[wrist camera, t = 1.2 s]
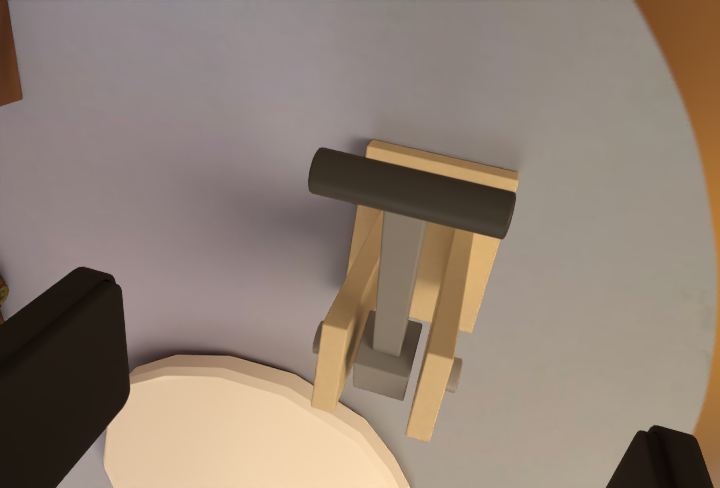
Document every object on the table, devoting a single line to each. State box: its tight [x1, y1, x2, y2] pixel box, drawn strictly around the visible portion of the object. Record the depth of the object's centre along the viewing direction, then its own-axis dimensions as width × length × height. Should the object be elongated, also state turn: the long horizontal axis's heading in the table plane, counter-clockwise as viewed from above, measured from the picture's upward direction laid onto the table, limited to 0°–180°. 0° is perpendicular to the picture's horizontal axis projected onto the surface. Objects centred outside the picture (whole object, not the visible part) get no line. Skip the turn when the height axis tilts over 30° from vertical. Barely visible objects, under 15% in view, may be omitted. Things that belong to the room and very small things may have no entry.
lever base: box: [311, 140, 519, 442], centre depth 27 cm, size 10×8×13 cm
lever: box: [308, 147, 516, 401], centre depth 19 cm, size 13×5×2 cm, turn 171°
